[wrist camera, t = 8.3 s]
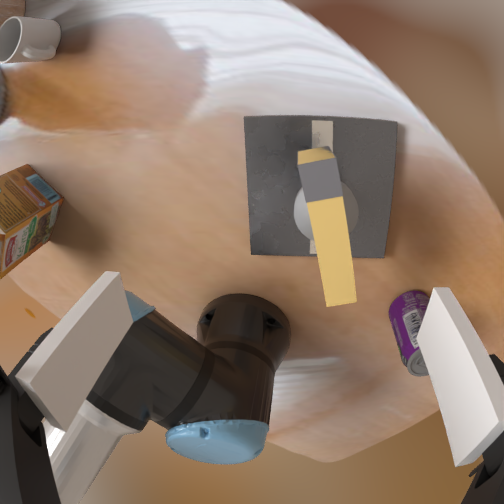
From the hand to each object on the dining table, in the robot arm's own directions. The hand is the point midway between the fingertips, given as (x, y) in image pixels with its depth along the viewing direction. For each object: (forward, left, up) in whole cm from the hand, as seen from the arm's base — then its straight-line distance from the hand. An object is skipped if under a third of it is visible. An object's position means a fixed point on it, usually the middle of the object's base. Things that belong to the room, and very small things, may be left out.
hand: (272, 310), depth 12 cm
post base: (-3, -4, -28) cm, 29 cm away
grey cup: (+23, +35, -29) cm, 51 cm away
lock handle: (-3, -4, -21) cm, 22 cm away
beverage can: (-21, -19, -29) cm, 40 cm away
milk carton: (-4, +44, -29) cm, 52 cm away
